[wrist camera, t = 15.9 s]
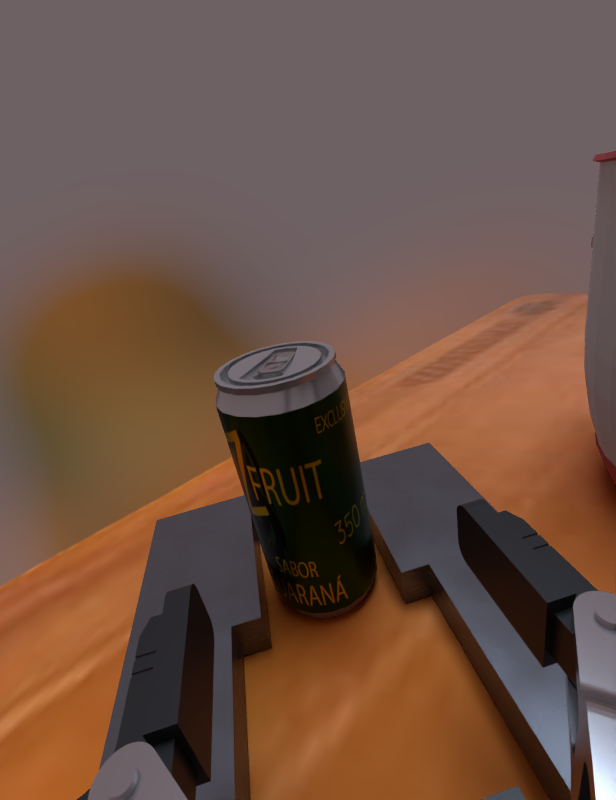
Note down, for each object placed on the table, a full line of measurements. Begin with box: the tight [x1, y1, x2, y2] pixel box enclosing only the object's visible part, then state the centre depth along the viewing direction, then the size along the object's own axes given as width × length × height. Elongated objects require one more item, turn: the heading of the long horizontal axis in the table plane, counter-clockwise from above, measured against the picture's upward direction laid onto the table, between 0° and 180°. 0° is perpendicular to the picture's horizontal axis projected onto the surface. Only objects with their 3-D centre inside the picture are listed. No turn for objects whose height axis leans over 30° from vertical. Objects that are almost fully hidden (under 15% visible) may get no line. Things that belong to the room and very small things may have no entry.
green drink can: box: [214, 341, 377, 618], centre depth 18 cm, size 5×5×12 cm
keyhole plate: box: [99, 443, 571, 800], centre depth 17 cm, size 20×18×2 cm
